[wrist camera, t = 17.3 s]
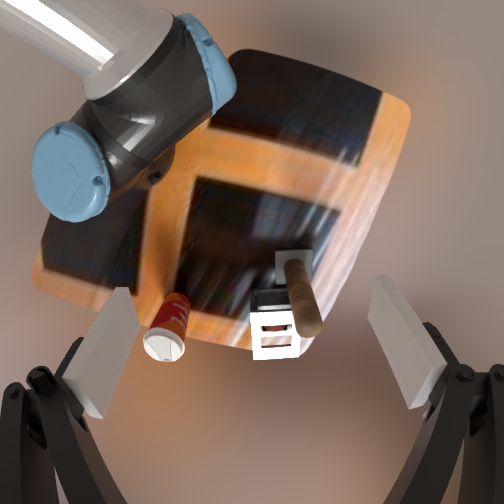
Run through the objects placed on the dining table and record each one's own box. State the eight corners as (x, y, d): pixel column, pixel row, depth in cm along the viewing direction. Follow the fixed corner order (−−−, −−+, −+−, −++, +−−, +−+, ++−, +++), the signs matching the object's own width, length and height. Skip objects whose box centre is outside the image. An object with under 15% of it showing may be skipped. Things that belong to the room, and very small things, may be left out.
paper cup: (198, 316, 61) (188, 364, 48) (165, 318, 61) (149, 363, 49) (191, 286, 58) (176, 332, 45) (155, 288, 58) (135, 332, 45)
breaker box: (294, 331, 63) (298, 356, 56) (253, 333, 63) (253, 359, 56) (295, 285, 58) (301, 310, 50) (250, 288, 58) (250, 313, 51)
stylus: (283, 277, 56) (295, 338, 41) (283, 259, 54) (296, 317, 39) (304, 276, 56) (322, 336, 41) (304, 258, 54) (324, 315, 39)
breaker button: (284, 321, 60) (285, 331, 58) (263, 323, 60) (264, 332, 58) (284, 305, 58) (286, 314, 56) (262, 306, 58) (263, 315, 56)
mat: (275, 282, 57) (275, 284, 57) (275, 250, 54) (275, 252, 54) (310, 280, 57) (311, 282, 56) (312, 248, 54) (312, 250, 53)
